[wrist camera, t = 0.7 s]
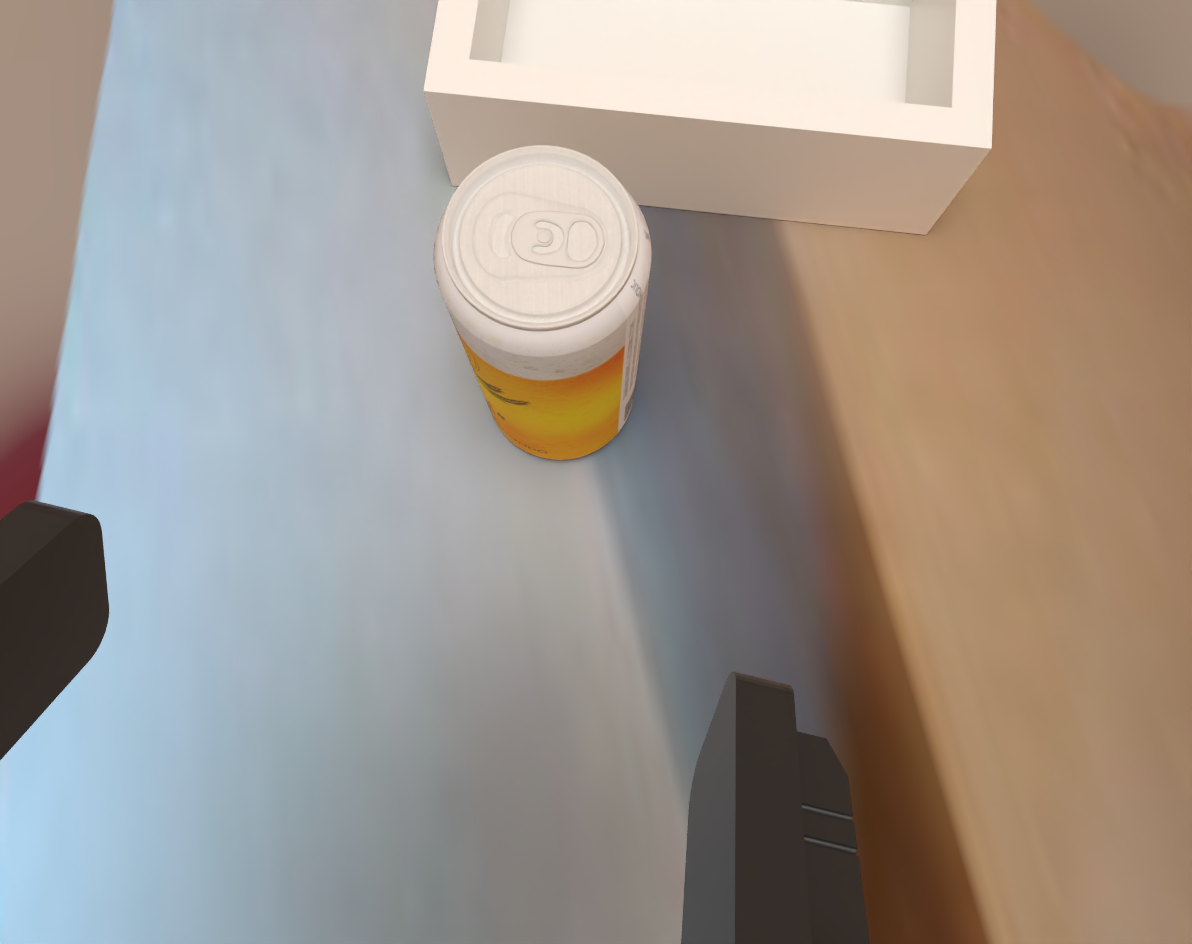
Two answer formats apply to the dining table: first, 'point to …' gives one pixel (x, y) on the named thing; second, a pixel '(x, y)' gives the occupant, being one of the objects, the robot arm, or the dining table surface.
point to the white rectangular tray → (729, 99)
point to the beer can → (547, 295)
